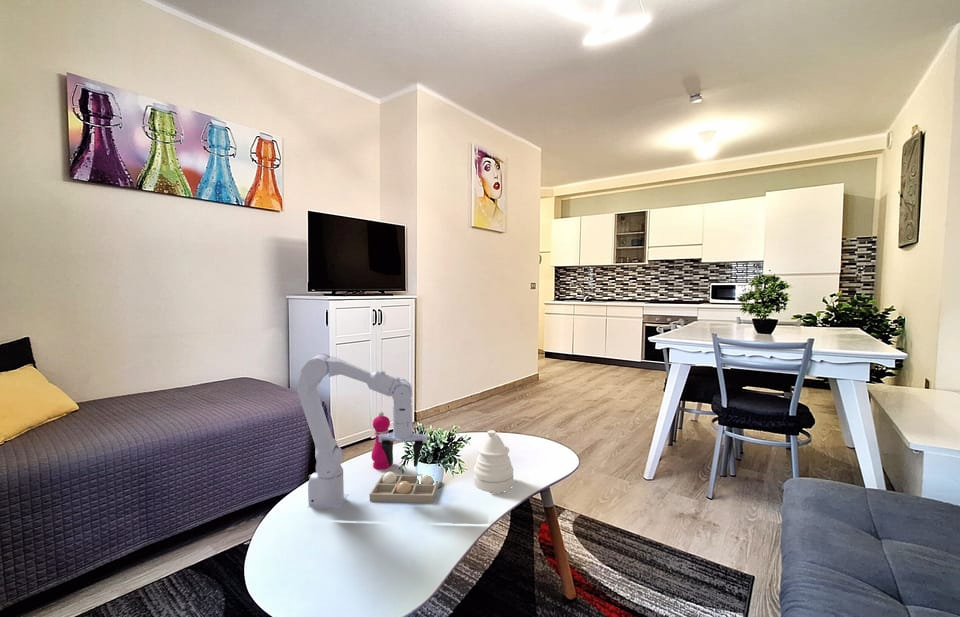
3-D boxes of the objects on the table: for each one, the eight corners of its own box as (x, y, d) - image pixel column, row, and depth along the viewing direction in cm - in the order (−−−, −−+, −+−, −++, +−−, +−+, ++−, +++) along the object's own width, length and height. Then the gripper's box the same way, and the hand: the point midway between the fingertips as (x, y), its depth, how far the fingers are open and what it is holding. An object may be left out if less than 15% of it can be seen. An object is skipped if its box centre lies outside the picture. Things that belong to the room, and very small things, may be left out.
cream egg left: (380, 488, 131) (380, 475, 131) (384, 482, 135) (384, 469, 135) (394, 489, 131) (394, 475, 131) (398, 482, 135) (398, 469, 135)
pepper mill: (383, 461, 153) (382, 407, 152) (396, 466, 149) (395, 411, 148) (367, 468, 148) (366, 412, 147) (381, 473, 143) (380, 416, 142)
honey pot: (507, 496, 127) (507, 438, 126) (468, 490, 131) (467, 434, 130) (517, 478, 139) (517, 425, 138) (481, 473, 143) (480, 421, 142)
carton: (369, 502, 124) (369, 494, 124) (382, 482, 137) (382, 474, 137) (433, 504, 123) (432, 495, 123) (439, 483, 136) (439, 475, 135)
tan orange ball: (394, 499, 124) (394, 484, 124) (398, 492, 129) (398, 478, 129) (409, 499, 124) (409, 485, 124) (412, 492, 129) (412, 478, 128)
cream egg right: (419, 489, 130) (419, 475, 130) (422, 483, 135) (421, 469, 134) (433, 490, 130) (433, 476, 130) (435, 483, 134) (435, 470, 134)
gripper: (375, 424, 122) (375, 470, 123) (423, 425, 121) (424, 471, 122) (382, 417, 129) (382, 460, 130) (428, 418, 129) (428, 461, 129)
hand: (403, 465), depth 127 cm, fingers open, 7 cm apart
